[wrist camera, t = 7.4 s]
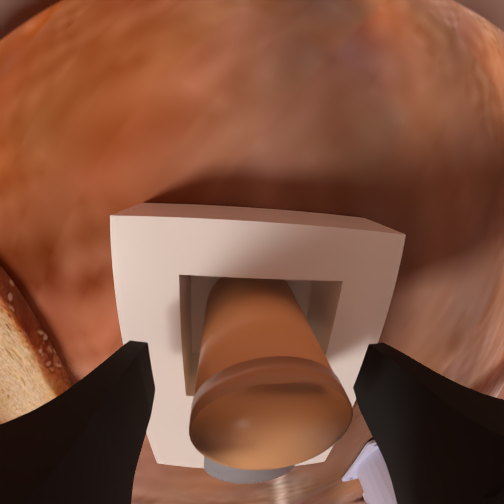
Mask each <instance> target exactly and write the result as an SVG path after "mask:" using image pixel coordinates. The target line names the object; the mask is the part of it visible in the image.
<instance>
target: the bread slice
mask: <svg viewBox="0 0 504 504" xmlns="http://www.w3.org/2000/svg"><path fill="white" fill-rule="evenodd" d="M70 387H72V383H71V380H70V378H69V376H68V374H67V372H66V371H65V369H64V367H63V365H62V362H61V360H60V358H59V357H58V355H57V353H56V351H55V350H54V348H53V346H52V344H51V342H50V341H49V339H48V337H47V335H46V333H45V331H44V329H43V327H42V326H41V324H40V322H39V321H38V319H37V318H36V316H35V314H34V313H33V311H32V310H31V308H30V307H29V305H28V303H27V302H26V300H25V299H24V297H23V296H22V294H21V292H20V291H19V289H18V288H17V286H16V285H15V283H14V282H13V281H12V279H11V278H10V277H9V276H8V274H7V273H6V272H5V270H4V269H3V268H2V267H1V266H0V424H3V423H5V422H8V421H10V420H13V419H15V418H17V417H19V416H22V415H24V414H26V413H29V412H31V411H33V410H35V409H37V408H38V407H40V406H42V405H44V404H45V403H47V402H49V401H51V400H52V399H54V398H56V397H57V396H59V395H60V394H62V393H63V392H65V391H66V390H67V389H69V388H70Z"/></svg>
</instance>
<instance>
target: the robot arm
mask: <svg viewBox="0 0 504 504" xmlns="http://www.w3.org/2000/svg"><path fill="white" fill-rule="evenodd" d="M353 389H354V393H355V396H356V399H357V402H358V405H359V408H360V411H361V413H362V415H363V417H364V419H365V421H366V423H367V425H368V428H369V430H370V432H371V434H372V436H373V438H374V440H371V441H369V442H368V443H367V444H366V445H365V447H364V448H363V450H362V451H361V453H360V454H359V456H358V457H357V458H356V460H355V461H354V463H353V464H352V465H351V467H350V468H349V469H348V471H347V472H346V474H345V475H344V476H343V477H342V481H344V482H345V481H349V480H353V479H357V478H359V481H360V483H361V486H362V488H363V491H364V493H365V496H366V498H367V501H368V503H369V504H504V400H503V399H498V398H495V397H491V396H488V395H485V394H482V393H479V392H477V391H474V390H472V389H469V388H467V387H464V386H462V385H460V384H458V383H456V382H454V381H452V380H450V379H448V378H446V377H444V376H442V375H440V374H438V373H436V372H435V371H433V370H431V369H429V368H428V367H426V366H424V365H422V364H421V363H419V362H417V361H416V360H414V359H412V358H410V357H409V356H407V355H405V354H404V353H402V352H400V351H398V350H396V349H395V348H393V347H391V346H389V345H387V344H385V343H376V344H369V345H368V348H367V351H366V354H365V357H364V359H363V362H362V365H361V368H360V371H359V373H358V376H357V378H356V381H355V384H354V386H353ZM154 395H155V384H154V378H153V373H152V367H151V361H150V354H149V347H148V343H147V342H139V341H131V340H130V341H128V342H127V343H126V344H124V345H123V346H122V347H121V348H120V349H118V350H117V351H116V352H115V353H114V354H113V355H111V356H110V357H109V358H108V359H107V360H105V361H104V362H103V363H102V364H100V365H99V366H98V367H97V368H95V369H94V370H93V371H92V372H91V373H89V374H88V375H87V376H85V377H84V378H83V379H81V380H80V381H79V382H77V383H76V384H74V385H73V386H72V387H70V388H69V389H67V390H66V391H65V392H63V393H62V394H60V395H59V396H57V397H56V398H54V399H52V400H51V401H49V402H47V403H45V404H44V405H42V406H40V407H38V408H37V409H35V410H33V411H31V412H29V413H26V414H24V415H22V416H19V417H17V418H15V419H13V420H10V421H8V422H5V423H3V424H0V504H131V497H132V488H133V480H134V475H135V470H136V466H137V462H138V459H139V455H140V452H141V448H142V445H143V441H144V438H145V434H146V431H147V427H148V424H149V421H150V417H151V413H152V407H153V401H154Z"/></svg>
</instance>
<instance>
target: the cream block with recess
mask: <svg viewBox="0 0 504 504" xmlns="http://www.w3.org/2000/svg"><path fill="white" fill-rule="evenodd" d="M110 233H111V252H112V265H113V276H114V286H115V295H116V303H117V310H118V317H119V323H120V329H121V335H122V340H123V345H124V344H126V343H127V342H128V341H130V340H131V341H139V342H147V343H148V347H149V354H150V361H151V367H152V373H153V378H154V384H155V395H154V401H153V407H152V413H151V417H150V421H149V424H148V427H147V431H146V433H147V436H148V439H149V442H150V445H151V448H152V450H153V453H154V456H155V458H156V461H157V463H160V464H167V465H175V466H184V467H195V468H204V469H205V471H206V472H207V473H208V474H209V475H211V476H212V477H214V478H217V479H219V480H222V481H226V482H231V483H259V482H264V481H269V480H272V479H275V478H278V477H280V476H282V475H284V474H286V473H287V472H289V471H290V470H291V469H292V468H293V467H294V466H297V465H305V464H312V463H319V462H324V461H325V460H326V458H327V456H328V454H329V453H330V451H331V449H332V447H333V446H332V447H330V448H329V449H327V450H326V451H324V452H323V453H321V454H319V455H318V456H316V457H314V458H312V459H309V460H307V461H305V462H302V463H299V464H296V465H292V466H289V467H284V468H279V469H272V470H243V469H236V468H231V467H227V466H224V465H221V464H218V463H216V462H214V461H212V460H210V459H208V458H206V457H205V456H203V455H202V454H201V453H200V452H199V451H198V450H197V449H196V448H195V447H194V446H193V444H192V442H191V440H190V436H189V423H190V414H191V405H192V401H193V398H194V396H195V387H196V379H197V370H198V363H199V355H200V347H201V340H202V333H203V326H204V319H205V312H206V305H207V300H208V296H209V293H210V291H211V289H212V288H213V286H214V285H215V283H216V282H217V281H218V280H219V279H220V278H222V277H235V278H258V279H284V280H285V281H286V282H287V283H288V285H289V286H290V288H291V290H292V292H293V294H294V296H295V298H296V300H297V302H298V304H299V305H300V307H301V309H302V311H303V313H304V315H305V317H306V319H307V321H308V323H309V325H310V327H311V329H312V331H313V333H314V335H315V337H316V339H317V341H318V343H319V345H320V346H321V348H322V350H323V352H324V354H325V356H326V358H327V360H328V362H329V364H330V366H331V368H332V370H333V372H334V373H335V375H336V376H337V377H338V378H339V380H340V382H341V384H342V386H343V388H344V390H345V392H346V394H347V396H348V398H349V400H350V402H351V404H352V407H353V405H354V403H355V401H356V396H355V393H354V389H353V386H354V384H355V381H356V378H357V376H358V373H359V371H360V368H361V365H362V362H363V359H364V357H365V354H366V351H367V348H368V345H369V344H376V343H378V342H379V339H380V336H381V333H382V329H383V326H384V323H385V320H386V317H387V313H388V310H389V306H390V303H391V299H392V295H393V291H394V288H395V284H396V280H397V275H398V271H399V267H400V262H401V257H402V252H403V247H404V242H405V237H406V234H403V233H401V232H398V231H396V230H394V229H391V228H389V227H386V226H384V225H381V224H378V223H376V222H373V221H371V220H368V219H366V218H361V217H352V216H343V215H334V214H324V213H313V212H303V211H291V210H279V209H266V208H251V207H235V206H218V205H196V204H169V203H141V204H138V205H135V206H133V207H130V208H128V209H125V210H122V211H120V212H117V213H115V214H112V215H110Z"/></svg>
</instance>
